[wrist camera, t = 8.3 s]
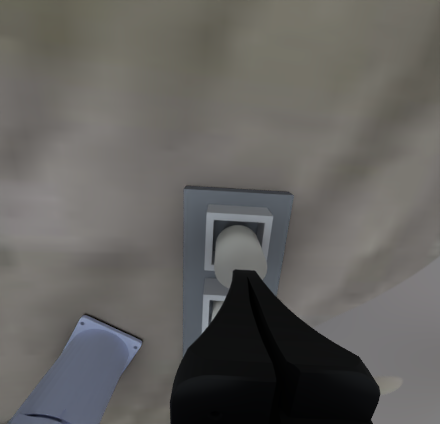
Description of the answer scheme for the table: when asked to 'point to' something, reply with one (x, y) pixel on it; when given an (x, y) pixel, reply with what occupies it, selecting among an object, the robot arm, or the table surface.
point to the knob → (238, 253)
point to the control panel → (206, 243)
